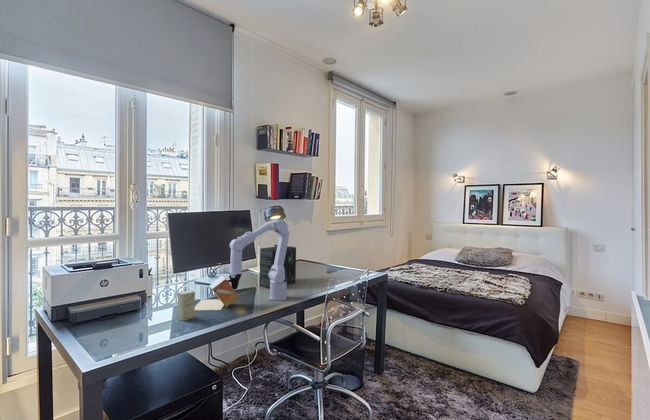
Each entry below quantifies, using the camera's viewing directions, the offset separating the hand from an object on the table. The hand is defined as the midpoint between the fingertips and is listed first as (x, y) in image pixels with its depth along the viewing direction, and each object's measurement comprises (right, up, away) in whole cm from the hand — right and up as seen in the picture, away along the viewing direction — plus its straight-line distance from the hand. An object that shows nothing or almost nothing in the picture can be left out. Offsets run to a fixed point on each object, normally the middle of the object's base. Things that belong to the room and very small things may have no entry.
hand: (234, 288), depth 171 cm
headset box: (+16, -8, +43) cm, 47 cm away
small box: (-2, -6, 0) cm, 7 cm away
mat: (-12, -8, 0) cm, 15 cm away
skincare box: (-17, -9, -20) cm, 27 cm away
